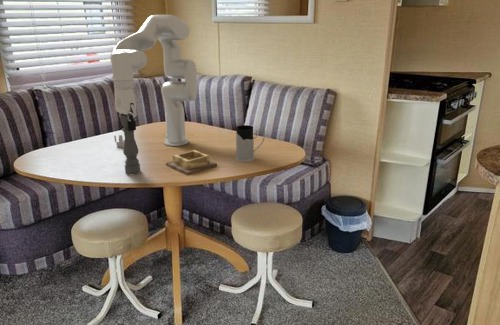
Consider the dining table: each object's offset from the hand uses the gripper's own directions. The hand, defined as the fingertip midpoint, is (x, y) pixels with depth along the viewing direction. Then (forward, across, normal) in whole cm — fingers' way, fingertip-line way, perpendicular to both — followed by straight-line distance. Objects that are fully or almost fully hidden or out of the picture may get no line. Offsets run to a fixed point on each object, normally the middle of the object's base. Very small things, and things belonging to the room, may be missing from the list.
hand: (128, 128), depth 169 cm
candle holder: (+19, 0, 0) cm, 19 cm away
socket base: (+19, +10, +23) cm, 31 cm away
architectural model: (+20, -42, +11) cm, 48 cm away
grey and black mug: (+19, +20, +49) cm, 56 cm away
